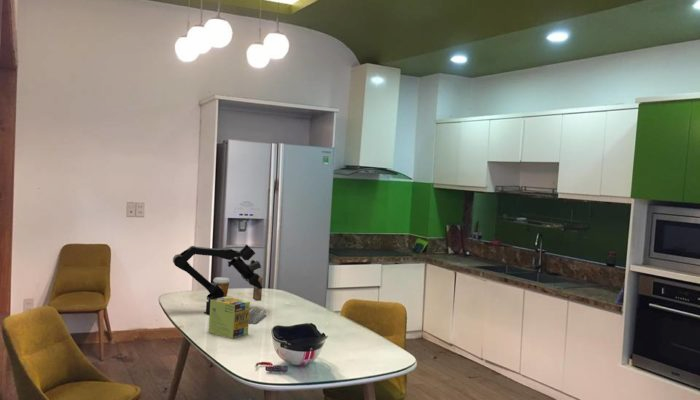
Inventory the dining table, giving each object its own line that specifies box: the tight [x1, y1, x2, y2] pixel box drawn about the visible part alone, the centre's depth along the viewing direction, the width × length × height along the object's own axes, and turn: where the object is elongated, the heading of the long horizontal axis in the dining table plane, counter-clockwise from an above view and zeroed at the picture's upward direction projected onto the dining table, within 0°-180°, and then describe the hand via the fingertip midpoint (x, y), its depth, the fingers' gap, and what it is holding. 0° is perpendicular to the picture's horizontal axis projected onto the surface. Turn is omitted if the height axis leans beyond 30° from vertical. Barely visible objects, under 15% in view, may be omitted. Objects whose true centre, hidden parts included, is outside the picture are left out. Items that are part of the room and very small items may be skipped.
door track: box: [249, 307, 267, 325], centre depth 296 cm, size 8×18×4 cm, turn 172°
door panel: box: [252, 276, 263, 302], centre depth 311 cm, size 3×6×12 cm, turn 23°
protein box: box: [208, 296, 251, 340], centre depth 268 cm, size 10×15×16 cm
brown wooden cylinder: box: [213, 276, 231, 297], centre depth 338 cm, size 10×10×12 cm
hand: (260, 287), depth 312 cm, fingers closed on door panel, 6 cm apart
